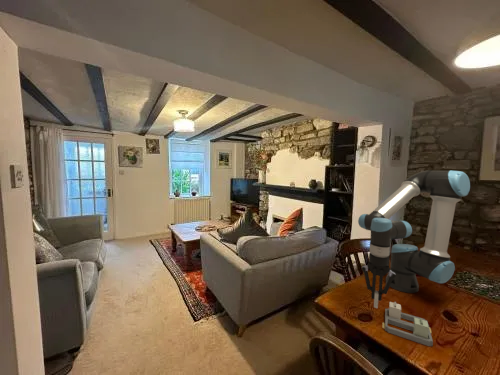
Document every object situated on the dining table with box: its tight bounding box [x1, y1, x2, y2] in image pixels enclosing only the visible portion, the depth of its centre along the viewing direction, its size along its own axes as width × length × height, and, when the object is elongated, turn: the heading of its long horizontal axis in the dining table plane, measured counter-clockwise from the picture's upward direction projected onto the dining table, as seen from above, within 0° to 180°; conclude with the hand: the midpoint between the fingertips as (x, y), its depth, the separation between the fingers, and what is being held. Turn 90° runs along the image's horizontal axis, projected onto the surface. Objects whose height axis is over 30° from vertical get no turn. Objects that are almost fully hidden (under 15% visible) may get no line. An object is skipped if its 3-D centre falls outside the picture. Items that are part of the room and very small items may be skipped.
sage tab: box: [412, 317, 430, 339], centre depth 84 cm, size 4×4×7 cm
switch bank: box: [381, 308, 434, 347], centre depth 89 cm, size 14×17×3 cm
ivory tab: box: [388, 301, 402, 320], centre depth 94 cm, size 4×4×7 cm
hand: (375, 306), depth 97 cm, fingers closed
